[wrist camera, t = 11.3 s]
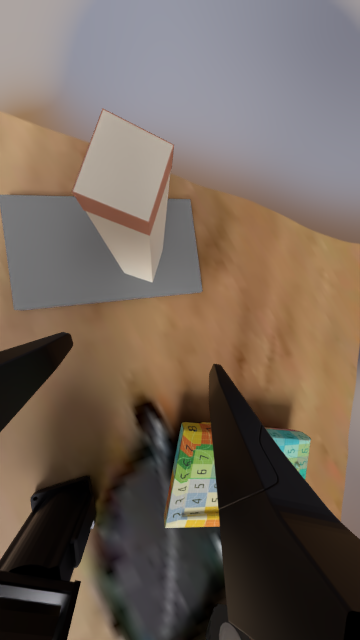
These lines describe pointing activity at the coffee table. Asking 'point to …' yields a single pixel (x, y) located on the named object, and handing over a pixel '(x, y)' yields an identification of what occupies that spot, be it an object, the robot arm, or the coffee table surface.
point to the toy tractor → (223, 626)
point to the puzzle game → (213, 473)
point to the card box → (127, 192)
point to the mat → (87, 255)
